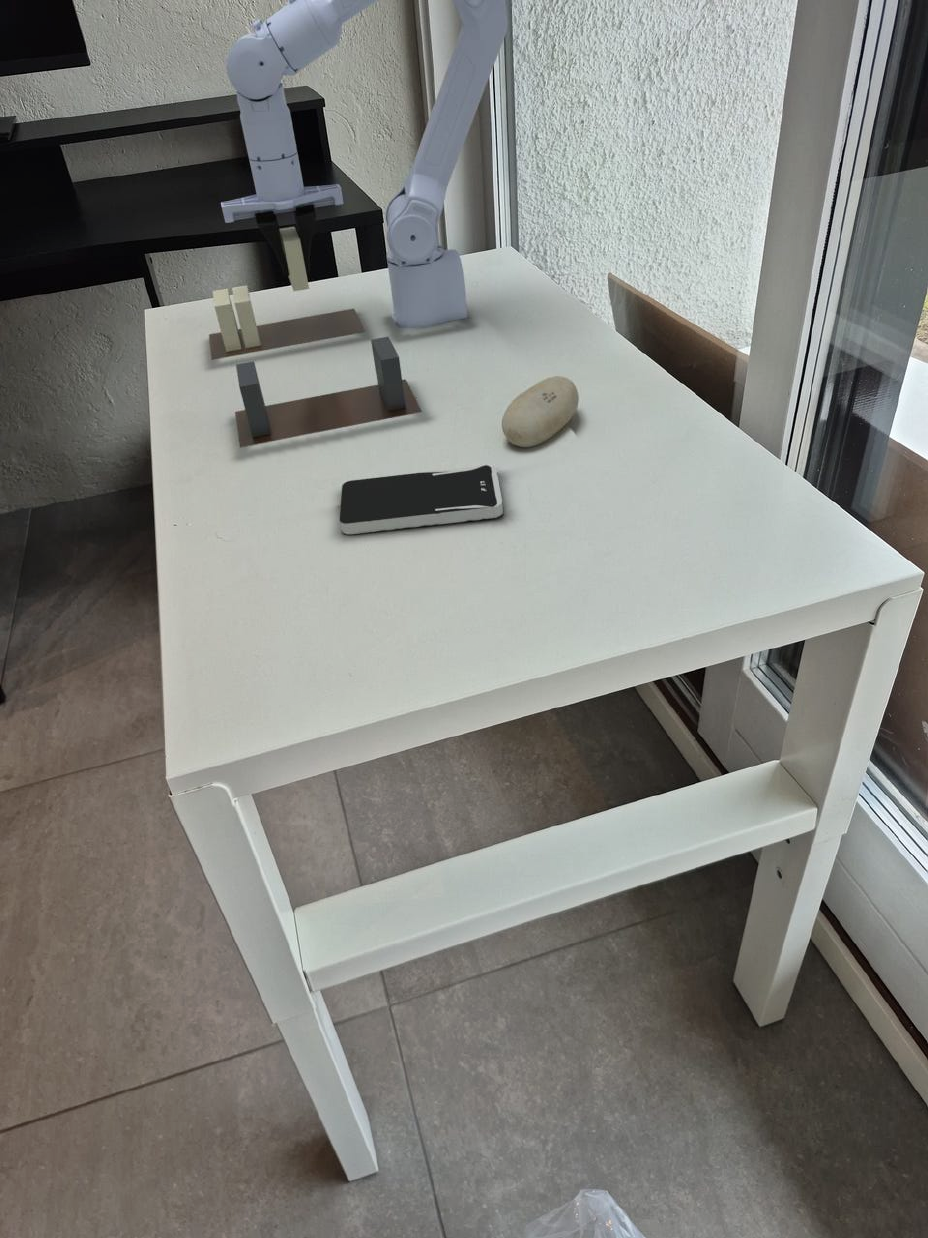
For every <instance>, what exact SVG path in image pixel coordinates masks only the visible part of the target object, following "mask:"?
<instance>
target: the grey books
mask: <svg viewBox="0 0 928 1238" xmlns="http://www.w3.org/2000/svg"><path fill="white" fill-rule="evenodd" d="M370 343H371V348H372V356H373V361H374V367H375V375H376V380H377V385H378V388H379V391H380V393H381V395H382V398H383V400H384V402H385V404H386V407H387V409H388V411H394V410H399V409H404V408H406V404H405V396H404V389H403V382H402V380H403V376H402V375H403V374H402V369H401V368H402V367H401V361H400V356H399V354H398V352H397V350H396V348H395V346H394V344H393V343H392V341H391V339H390V336H384V337H378V338H373V339H370ZM235 368H236V374H237V381H238V387H239V391H240V395H241V399H242V403H243V407H244V410H245V411H246V415H247V419H248V422H249V426H250V430H251V434H252V438H256V437H261V436H266V435H271V432H270V427H269V422H268V417H267V412H266V408H265V406H266V404H265V400H264V396H263V392H262V388H261V384H260V380H259V376H258V375H259V374H258V371H257V367H256V363H255V361H254V360H253V361H247V362H243V363H237V364H235Z"/></svg>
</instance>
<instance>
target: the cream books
mask: <svg viewBox="0 0 928 1238" xmlns="http://www.w3.org/2000/svg"><path fill="white" fill-rule="evenodd" d="M231 291H232V297H233V298H232V299H233V301H234V302H233V303H234V307H235V311H236V315H237V319H238V323H239V327H240V329H241V331H242V335H243V340H244V344H245V348H252V347H257V346H261V343H260V338H259V334H258V329H257V326H258V325H257V321H256V317H255V313H254V309H253V305H252V304H253V303H252V300H251V295H250V292H249V288H248V285H247V284H246V285H241V286H235V287H234V286H233V287H232V288H231ZM212 298H213V306H214V307H213V308H214V310H215V314H216V318H217V322H218V326H219V329H220V332H221V333H222V337H223V341H224V345H225V349H226V352H230V351H236V350H241V349H242V347H241V341H240V336H239V331H238V329H239V327H238V323H237V319H236V315H235V311H234V307H233V303H232V300H231V295H230V292H229V288H223V289H222V288H221V289H216V290H212Z"/></svg>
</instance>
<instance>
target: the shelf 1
mask: <svg viewBox="0 0 928 1238" xmlns="http://www.w3.org/2000/svg"><path fill="white" fill-rule="evenodd" d="M257 329H258V334H259V338H260V343H261V346H257V347H252V348H245V344H244V340H243V335H242V331H241V328H238V331H239V336H240V341H241V347H242V349H241V350H236V351H230V352H226V349H225V345H224V341H223V337H222V333H221V331H220V332H215V333H209V334H208V341H209V349H210V350H209V351H210V359H211V361H215V360H219V359H224V358H231V357H237V356H240V355H246V354H247V355H248V354H251V353H257V352H258V353H259V352H263V351H269V350H275V349H279V348H285V347H291V346H297V345H301V344H306V343H311V342H318V341H323V340H329V339H333V338H339V337H345V336H350V335H356V334H361V333H366V331H365V329H364V326H363V324H362V322H361V320H360V317H359V316H358V314H357V311H356V309H355V308H349V309H344V310H343V309H342V310H338V311H332V312H326V313H321V314H315V315H310V316H304V317H299V318H293V319H288V320H281V321H277V322H270V323H265V324H260V325H257Z"/></svg>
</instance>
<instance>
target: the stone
mask: <svg viewBox="0 0 928 1238" xmlns="http://www.w3.org/2000/svg"><path fill="white" fill-rule="evenodd" d="M579 396H580V395H579V392H578V389H577V386H576V385H575V383H574V381H573V380H572V379H570V378H568V377H566V376H562V375H554V376H551V377H548V378H545V379H543V380H541V381H538V382H537V383H535V384H533V385H532V386H531V387H529V388H526V390H524V391H523V392H521V393H519V394H518V395H517V396H516V397H515V398H514V399H513V400H512V401H511V403H509V405H508V406H507V408H506V409H505V411H504V413H503V415H502V419H501V429H502V433H503V435H504V436H505V438H506V439H507V440H508V442H510V443H511V444H512V445H515V446H517V447H520V448H523V449H524V448H533V447H537V446H539V445H541V444H543V443H545V442H547V441H548V440H549V439H551V438H553V437H554V436H555V435H556V434H557V433H559V432H560V431H561V430H563V428H564V427H565V426H566V425H567V424H568V423H569V422H570V420H571V419H572V418H573V416H574V414H575V413H576V411H577V409H578V407H579V399H580V397H579Z"/></svg>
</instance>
